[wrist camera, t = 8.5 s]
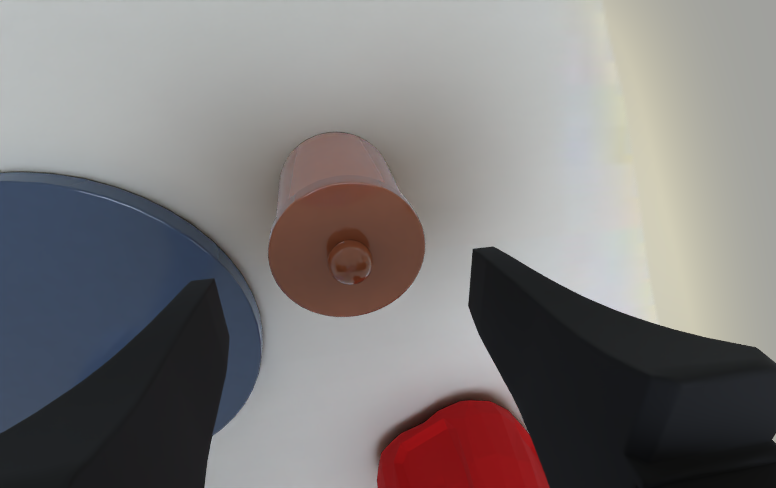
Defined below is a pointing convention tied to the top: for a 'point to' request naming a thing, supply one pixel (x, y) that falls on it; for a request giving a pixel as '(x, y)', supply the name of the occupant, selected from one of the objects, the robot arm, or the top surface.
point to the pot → (343, 229)
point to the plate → (101, 287)
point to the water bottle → (463, 451)
